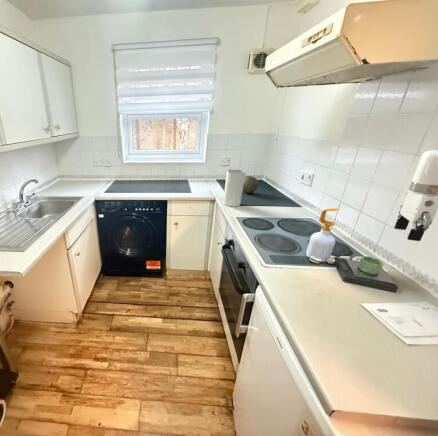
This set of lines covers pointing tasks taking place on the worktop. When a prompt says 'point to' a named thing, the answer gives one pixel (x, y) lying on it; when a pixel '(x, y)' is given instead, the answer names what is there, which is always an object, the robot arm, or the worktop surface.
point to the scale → (363, 275)
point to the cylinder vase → (233, 187)
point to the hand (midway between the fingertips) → (406, 234)
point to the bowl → (370, 265)
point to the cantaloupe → (250, 184)
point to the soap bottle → (322, 240)
